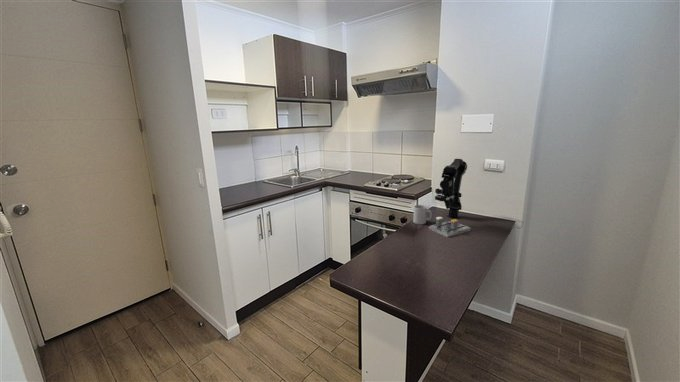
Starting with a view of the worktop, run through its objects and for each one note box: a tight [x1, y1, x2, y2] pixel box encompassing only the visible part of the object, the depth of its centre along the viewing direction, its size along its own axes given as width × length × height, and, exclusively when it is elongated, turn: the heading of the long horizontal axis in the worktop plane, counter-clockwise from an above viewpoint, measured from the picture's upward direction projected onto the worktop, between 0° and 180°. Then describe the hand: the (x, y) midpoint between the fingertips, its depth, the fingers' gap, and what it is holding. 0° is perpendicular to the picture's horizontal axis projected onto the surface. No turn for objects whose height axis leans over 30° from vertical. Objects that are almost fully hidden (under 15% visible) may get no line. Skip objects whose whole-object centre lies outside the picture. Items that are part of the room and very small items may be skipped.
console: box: [428, 220, 471, 238], centre depth 176 cm, size 20×15×3 cm
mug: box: [412, 204, 433, 225], centre depth 188 cm, size 12×8×11 cm
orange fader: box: [450, 218, 459, 229], centre depth 171 cm, size 3×2×5 cm
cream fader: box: [435, 216, 443, 227], centre depth 176 cm, size 3×2×5 cm
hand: (447, 208), depth 184 cm, fingers closed
